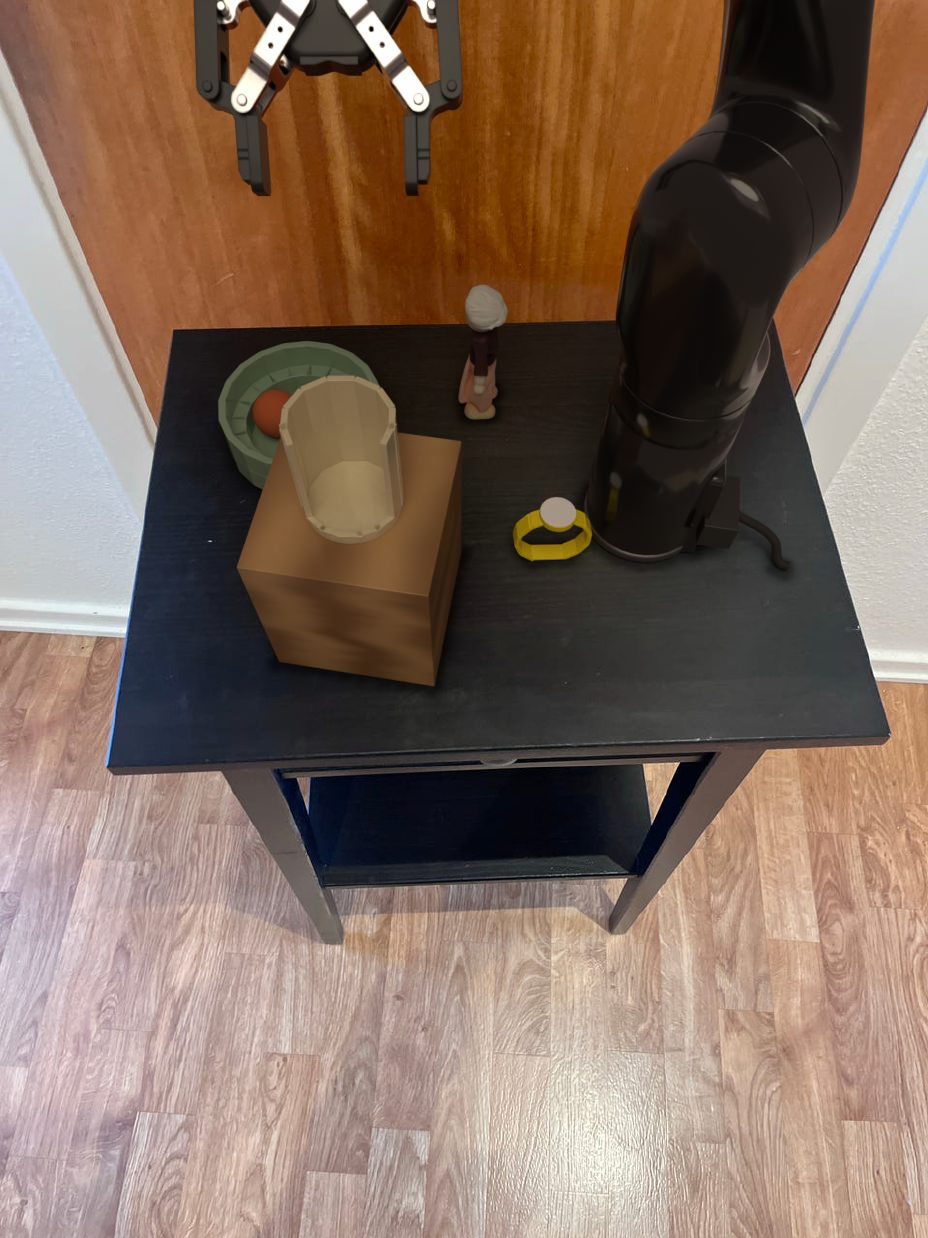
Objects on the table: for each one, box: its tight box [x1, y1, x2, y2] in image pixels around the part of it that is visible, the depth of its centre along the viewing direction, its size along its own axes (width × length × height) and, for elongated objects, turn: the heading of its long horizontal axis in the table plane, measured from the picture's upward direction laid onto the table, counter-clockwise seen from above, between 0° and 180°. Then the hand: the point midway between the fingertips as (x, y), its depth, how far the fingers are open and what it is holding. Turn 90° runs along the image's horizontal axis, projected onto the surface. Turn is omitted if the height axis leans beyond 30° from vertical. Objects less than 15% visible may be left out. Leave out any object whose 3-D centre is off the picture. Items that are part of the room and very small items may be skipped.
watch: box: [512, 496, 593, 562], centre depth 67 cm, size 6×3×6 cm, turn 95°
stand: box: [236, 432, 463, 687], centre depth 61 cm, size 12×12×14 cm
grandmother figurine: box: [457, 284, 509, 420], centre depth 71 cm, size 8×4×13 cm, turn 2°
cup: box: [279, 376, 404, 544], centre depth 51 cm, size 6×6×8 cm
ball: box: [253, 389, 292, 438], centre depth 73 cm, size 4×4×4 cm
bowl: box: [217, 340, 380, 490], centre depth 73 cm, size 13×13×5 cm
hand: (337, 194), depth 49 cm, fingers open, 8 cm apart
